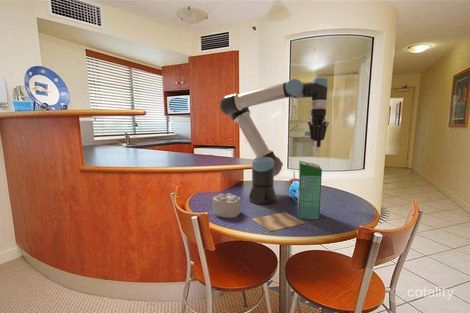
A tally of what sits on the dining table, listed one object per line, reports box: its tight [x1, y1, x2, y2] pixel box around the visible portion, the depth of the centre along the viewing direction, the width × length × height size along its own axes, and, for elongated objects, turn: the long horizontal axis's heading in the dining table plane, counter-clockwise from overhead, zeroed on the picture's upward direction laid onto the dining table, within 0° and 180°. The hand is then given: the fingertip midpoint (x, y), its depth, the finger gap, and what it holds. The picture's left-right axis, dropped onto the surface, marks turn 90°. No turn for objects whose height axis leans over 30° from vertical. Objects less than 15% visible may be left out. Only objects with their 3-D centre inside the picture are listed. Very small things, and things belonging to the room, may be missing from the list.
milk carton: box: [297, 160, 323, 220], centre depth 113 cm, size 9×9×25 cm
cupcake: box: [288, 171, 299, 187], centre depth 156 cm, size 9×8×12 cm
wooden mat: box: [251, 211, 306, 233], centre depth 107 cm, size 18×14×1 cm
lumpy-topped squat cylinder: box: [212, 192, 242, 219], centre depth 117 cm, size 10×13×9 cm
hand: (316, 152), depth 133 cm, fingers closed
